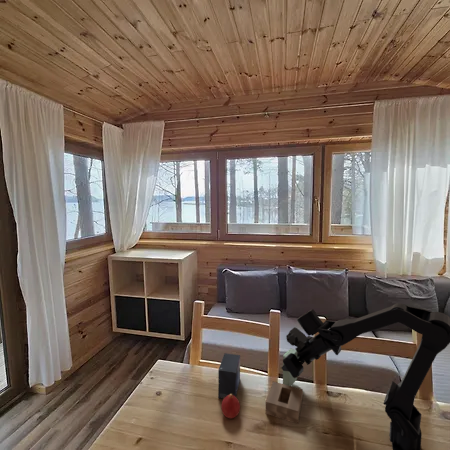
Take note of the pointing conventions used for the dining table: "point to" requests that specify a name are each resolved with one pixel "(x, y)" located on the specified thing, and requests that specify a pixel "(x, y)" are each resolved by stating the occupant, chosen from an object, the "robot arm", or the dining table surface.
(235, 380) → the small box
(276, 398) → the slotted box
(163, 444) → the dining table surface
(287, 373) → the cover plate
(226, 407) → the onion
